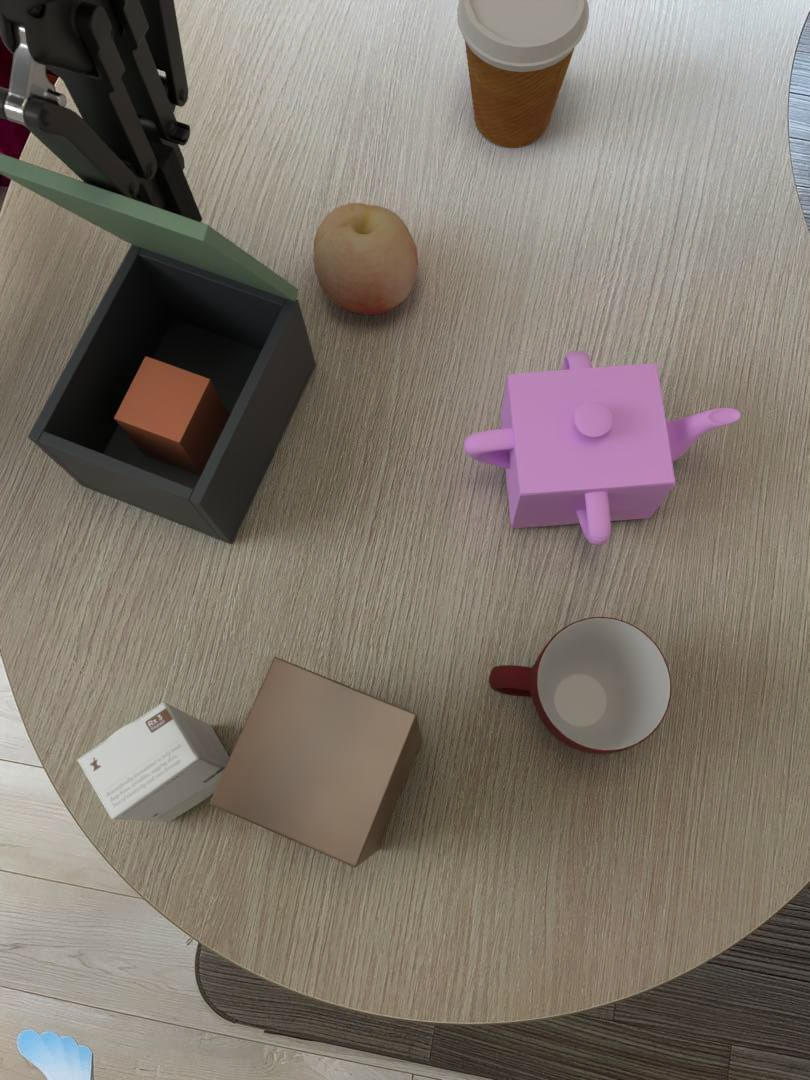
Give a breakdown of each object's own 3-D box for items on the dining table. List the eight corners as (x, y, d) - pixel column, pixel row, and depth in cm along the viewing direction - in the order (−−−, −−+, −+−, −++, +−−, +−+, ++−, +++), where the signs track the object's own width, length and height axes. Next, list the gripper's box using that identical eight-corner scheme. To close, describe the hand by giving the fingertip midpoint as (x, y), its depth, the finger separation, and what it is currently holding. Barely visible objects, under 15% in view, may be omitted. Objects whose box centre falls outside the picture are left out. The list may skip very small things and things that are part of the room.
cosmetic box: (169, 824, 64) (109, 829, 53) (135, 769, 65) (70, 761, 54) (245, 771, 65) (202, 764, 53) (211, 717, 66) (162, 698, 54)
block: (144, 454, 71) (113, 418, 64) (172, 397, 72) (145, 355, 65) (204, 477, 70) (179, 442, 63) (232, 419, 71) (210, 378, 65)
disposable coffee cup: (439, 86, 80) (440, -35, 68) (546, 56, 80) (564, -70, 69) (475, 178, 77) (482, 68, 66) (585, 146, 78) (611, 31, 66)
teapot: (690, 382, 72) (730, 316, 62) (719, 559, 68) (766, 518, 58) (454, 400, 72) (456, 338, 62) (470, 578, 68) (475, 540, 58)
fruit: (423, 245, 76) (422, 182, 68) (414, 336, 74) (411, 281, 66) (325, 239, 76) (312, 175, 68) (312, 328, 74) (298, 273, 66)
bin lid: (203, 241, 47) (208, 224, 47) (-16, 165, 49) (-11, 149, 49) (295, 301, 63) (299, 289, 63) (128, 243, 65) (132, 231, 65)
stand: (270, 804, 64) (208, 804, 47) (317, 694, 66) (274, 655, 49) (378, 850, 63) (356, 868, 46) (422, 738, 65) (417, 714, 48)
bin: (232, 544, 70) (199, 504, 60) (81, 485, 71) (26, 436, 62) (316, 364, 73) (298, 299, 64) (171, 312, 75) (132, 241, 65)
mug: (485, 758, 65) (493, 750, 55) (485, 641, 67) (493, 614, 57) (640, 761, 64) (676, 754, 55) (635, 644, 67) (668, 616, 57)
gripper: (14, 5, 33) (187, 332, 55) (175, -258, 36) (276, 154, 58) (-171, -53, 34) (74, 292, 56) (1, -304, 37) (167, 119, 59)
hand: (177, 221), depth 57 cm, fingers closed
